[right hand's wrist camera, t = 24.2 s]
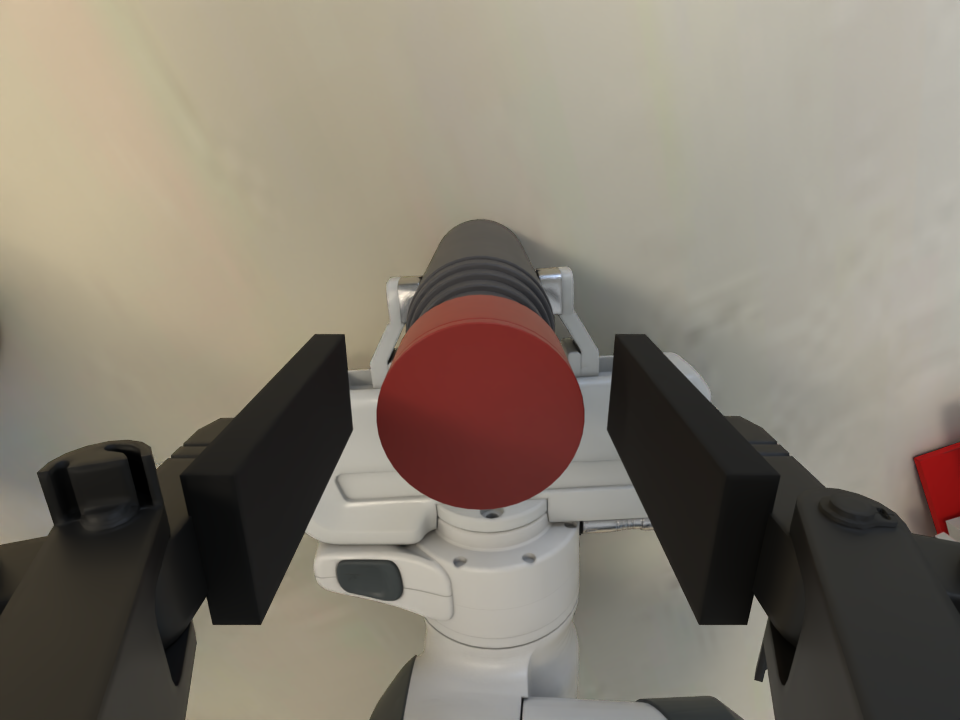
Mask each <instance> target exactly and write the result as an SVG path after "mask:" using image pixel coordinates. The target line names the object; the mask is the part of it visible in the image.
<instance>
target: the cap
mask: <svg viewBox="0 0 960 720" xmlns="http://www.w3.org/2000/svg"><path fill="white" fill-rule="evenodd" d="M376 422H377V429H378V435H379V438H380V442H381V445H382V447H383V450H384V452H385V454H386V456H387V458H388V460H389V461H390V463H391V464H392V466H393V467H394V469H395V470H396V471H397V472H398V473H399V475H400V476H401V477H402V478H403V479H404V480H405V481H406V482H407V483H408V484H409V485H411V486H412V487H413V488H415V489H416V490H418V491H419V492H420V493H422V494H424V495H426V496H427V497H429V498H431V499H433V500H436V501H438V502H441V503H443V504H446V505H450V506H453V507H458V508H464V509H475V510H486V509H497V508H503V507H508V506H511V505H515V504H518V503H520V502H523V501H525V500H528V499H530V498H532V497H534V496H535V495H537V494H539V493H541V492H542V491H543V490H545V489H546V488H548V487H549V486H550V485H552V484H553V483H554V482H555V481H556V480H557V479H558V478H559V477H560V476H561V475H562V474H563V472H564V471H565V470H566V469H567V467H568V466H569V464H570V463H571V461H572V460H573V458H574V456H575V454H576V452H577V450H578V447H579V445H580V442H581V438H582V435H583V429H584V422H585V409H584V402H583V396H582V393H581V390H580V386H579V384H578V381H577V379H576V377H575V375H574V372H573V370H572V368H571V366H570V363H569V361H568V359H567V357H566V354H565V352H564V350H563V348H562V346H561V343H560V341H559V339H558V337H557V336H556V334H555V333H554V331H553V330H552V329H551V327H550V326H549V325H548V324H547V323H546V322H545V321H544V320H543V319H542V318H541V317H540V316H539V315H538V314H536V313H535V312H534V311H532V310H531V309H529V308H528V307H526V306H524V305H522V304H520V303H518V302H516V301H513V300H510V299H507V298H503V297H498V296H493V295H468V296H463V297H458V298H454V299H451V300H448V301H445V302H443V303H441V304H439V305H437V306H435V307H433V308H432V309H430V310H429V311H427V312H426V313H424V314H423V315H422V316H421V317H420V318H419V319H418V320H416V322H415V323H414V324H413V325H412V326H411V327H410V328H409V330H408V331H407V333H406V334H405V336H404V337H403V339H402V341H401V343H400V345H399V348H398V350H397V352H396V354H395V357H394V359H393V361H392V363H391V366H390V368H389V370H388V372H387V375H386V377H385V379H384V381H383V384H382V386H381V390H380V393H379V396H378V402H377V409H376Z"/></svg>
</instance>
